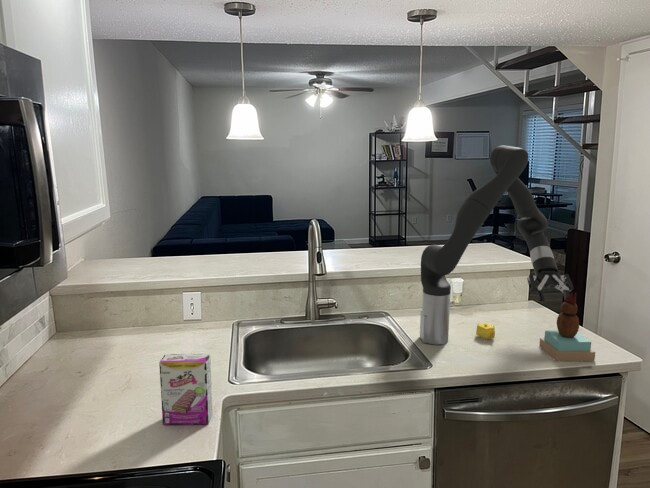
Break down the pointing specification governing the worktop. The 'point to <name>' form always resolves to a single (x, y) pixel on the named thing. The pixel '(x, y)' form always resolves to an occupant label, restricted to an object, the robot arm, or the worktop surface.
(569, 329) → the wooden figurine
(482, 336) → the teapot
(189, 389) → the candy bar box
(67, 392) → the worktop surface
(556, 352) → the tower base
